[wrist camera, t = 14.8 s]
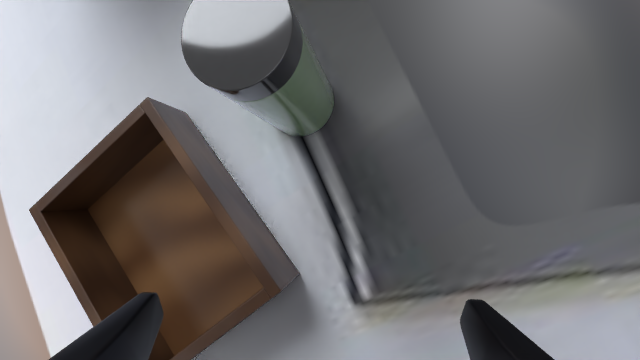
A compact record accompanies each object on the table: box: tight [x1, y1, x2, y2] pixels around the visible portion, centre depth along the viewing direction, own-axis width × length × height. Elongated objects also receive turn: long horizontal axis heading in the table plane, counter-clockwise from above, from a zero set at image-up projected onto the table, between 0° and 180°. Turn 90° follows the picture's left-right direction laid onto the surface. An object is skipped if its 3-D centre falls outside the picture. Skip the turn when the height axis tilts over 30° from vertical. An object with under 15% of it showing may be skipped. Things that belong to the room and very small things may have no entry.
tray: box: [29, 97, 299, 360], centre depth 21 cm, size 16×13×4 cm
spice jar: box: [181, 0, 334, 136], centre depth 17 cm, size 5×5×10 cm
